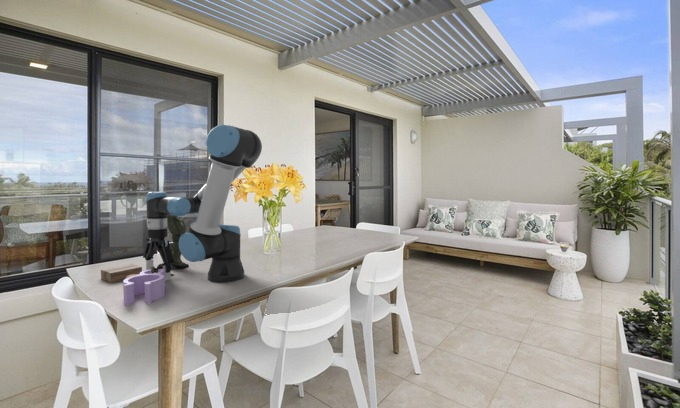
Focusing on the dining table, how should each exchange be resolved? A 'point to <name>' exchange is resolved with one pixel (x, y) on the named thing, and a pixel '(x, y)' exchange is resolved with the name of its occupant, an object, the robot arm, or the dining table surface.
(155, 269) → the eagle figurine
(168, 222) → the mechanical leg
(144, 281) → the clip
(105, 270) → the plinth
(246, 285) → the dining table surface
